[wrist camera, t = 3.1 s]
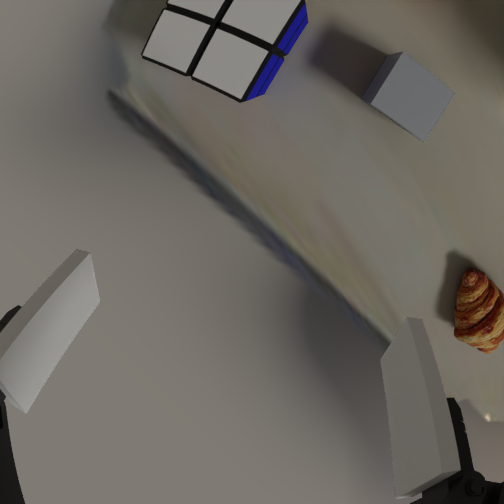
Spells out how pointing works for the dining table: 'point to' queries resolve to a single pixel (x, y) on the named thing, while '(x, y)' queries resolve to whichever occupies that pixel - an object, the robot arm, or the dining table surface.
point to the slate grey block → (408, 94)
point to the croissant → (479, 312)
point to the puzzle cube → (226, 42)
